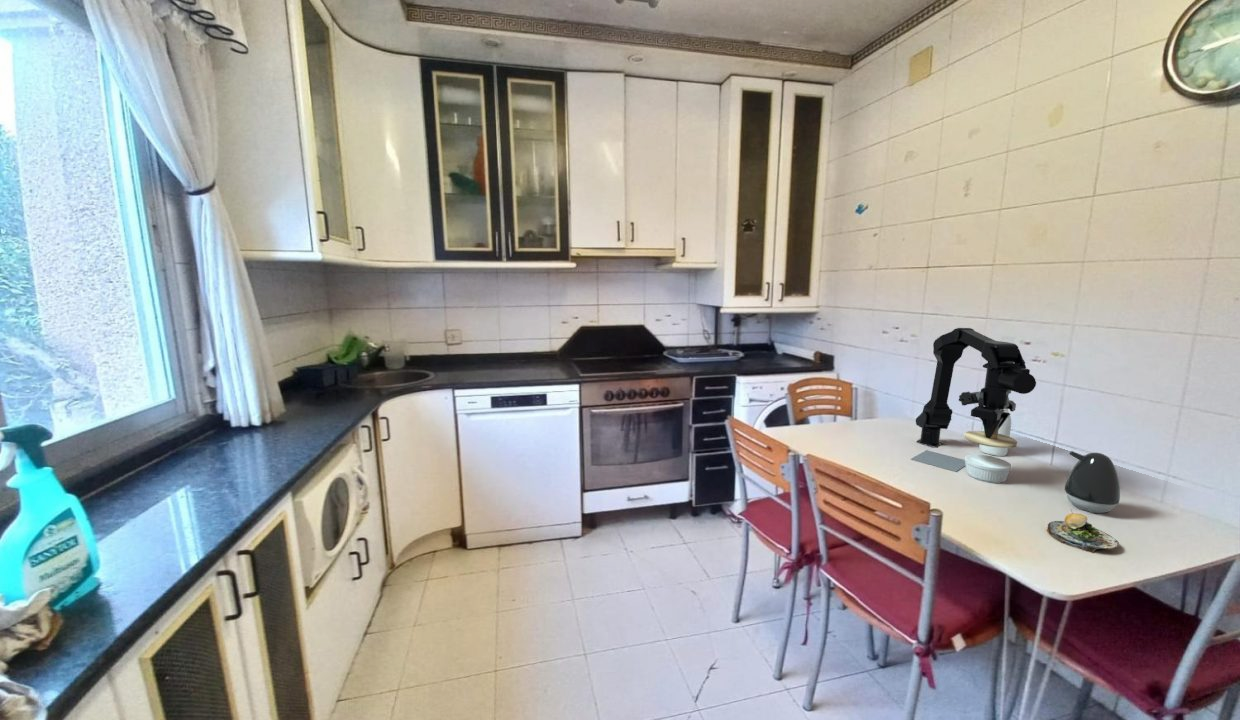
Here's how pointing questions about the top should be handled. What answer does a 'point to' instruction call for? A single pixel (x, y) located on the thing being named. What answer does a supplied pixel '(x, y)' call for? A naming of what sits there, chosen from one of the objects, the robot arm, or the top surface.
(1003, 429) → the milk bottle
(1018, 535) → the top surface
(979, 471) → the ramekin
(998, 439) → the lid
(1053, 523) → the oval plate with food
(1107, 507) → the pump dispenser
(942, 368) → the robot arm
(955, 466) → the mat
